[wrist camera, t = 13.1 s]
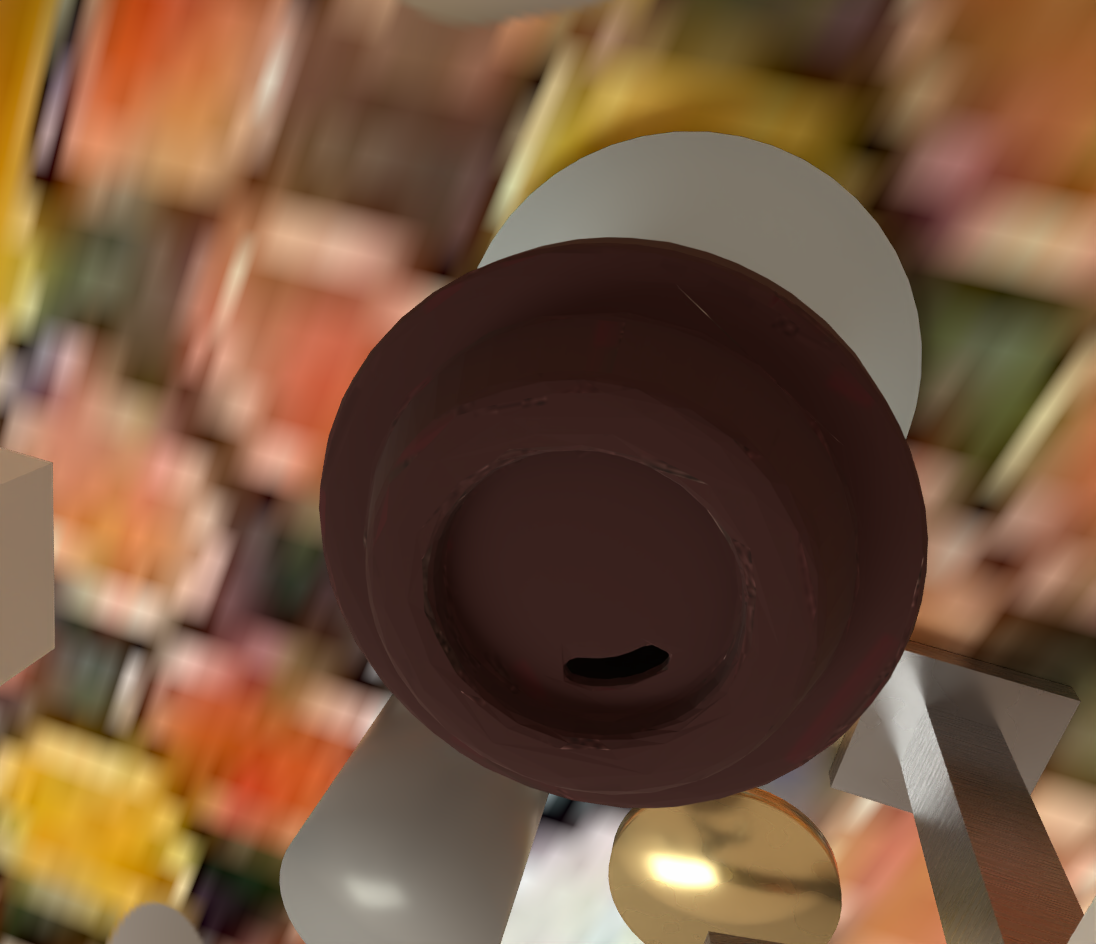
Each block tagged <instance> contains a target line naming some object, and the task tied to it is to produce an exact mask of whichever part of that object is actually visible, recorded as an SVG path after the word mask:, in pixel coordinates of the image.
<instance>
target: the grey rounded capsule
mask: <svg viewBox="0 0 1096 944" xmlns="http://www.w3.org/2000/svg"><path fill="white" fill-rule="evenodd" d="M548 794H549V793H547V792H544V791H540V790H537V789H533V788H530V787H527V786H525V785H523V784H521V783H518V782H516V781H514V780H512V779H509V778H507V777H505V776H502V775H500V774H498V773H496V772H493V771H491V770H489V769H486V768H484V767H483V766H481V765H479V764H478V763H476V762H474V761H473V760H471V759H469V758H468V757H466V756H464V755H463V754H461V753H459V752H458V751H457V750H455V749H454V748H453V747H451V746H450V745H449V744H447V743H446V742H445V741H443V740H442V739H441V738H439V737H438V736H437V735H435V734H434V733H433V732H432V731H430V730H429V729H428V728H427V727H426V726H425V725H424V724H422V723H421V722H420V721H419V720H418V719H417V718H416V717H415V716H413V715H412V714H411V713H410V712H409V711H408V710H407V709H406V707H405V706H404V705H403V704H402V703H401V702H400V701H399V700H398V699H397V698H396V697H395V695H394V694H392V696H391V697H390V699H389V700H388V702H387V703H386V705H385V706H384V708H383V709H382V711H381V712H380V713H379V715H378V716H377V718H376V719H375V721H374V722H373V724H372V725H371V727H370V728H369V730H368V731H367V733H366V734H365V735H364V737H363V738H362V740H361V741H360V743H359V744H358V746H357V747H356V749H355V750H354V752H353V753H352V755H351V756H350V757H349V759H348V760H347V762H346V763H345V765H344V766H343V768H342V769H341V771H340V772H339V774H338V775H337V776H336V778H335V779H334V781H333V782H332V784H331V785H330V787H329V788H328V790H327V791H326V793H325V794H324V796H323V797H322V798H321V800H320V801H319V803H318V804H317V806H316V807H315V809H314V810H313V812H312V813H311V815H310V816H309V818H308V819H307V820H306V822H305V823H304V825H303V826H302V828H301V829H300V831H299V832H298V834H297V835H296V837H295V838H294V839H293V841H292V843H291V844H290V846H289V847H288V849H287V850H286V853H285V855H284V858H283V860H282V865H281V870H280V889H281V896H282V899H283V903H284V907H285V909H286V911H287V914H288V916H289V918H290V920H291V922H292V924H293V926H294V927H295V929H296V931H297V932H298V933H299V935H300V936H301V938H302V939H303V941H304V942H305V943H306V944H501V941H502V937H503V934H504V931H505V928H506V925H507V922H508V919H509V916H510V913H511V909H512V906H513V903H514V900H515V897H516V894H517V891H518V888H519V885H520V881H521V878H522V875H523V872H524V869H525V866H526V863H527V860H528V857H529V853H530V850H531V847H532V844H533V841H534V838H535V835H536V832H537V829H538V825H539V822H540V819H541V816H542V813H543V810H544V807H545V804H546V801H547V798H548Z"/></svg>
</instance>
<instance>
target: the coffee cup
mask: <svg viewBox="0 0 1096 944" xmlns="http://www.w3.org/2000/svg"><path fill="white" fill-rule="evenodd" d="M319 511H320V521H321V531H322V541H323V551H324V557H325V561H326V566H327V570H328V574H329V579H330V583H331V586H332V589H333V591H334V594H335V597H336V600H337V603H338V606H339V608H340V610H341V612H342V615H343V617H344V619H345V621H346V623H347V625H348V627H349V629H350V631H351V634H352V636H353V638H354V640H355V642H356V644H357V645H358V647H359V648H360V649H361V651H362V652H363V654H364V655H365V657H366V658H367V660H368V661H369V663H370V664H371V666H372V667H373V668H374V670H375V671H376V673H377V674H378V676H379V677H380V679H381V680H382V681H383V683H384V684H385V686H386V687H387V688H388V689H389V690H390V691H391V692H392V693H393V694H394V695H395V697H396V698H397V699H398V700H399V701H400V702H401V703H402V704H403V705H404V706H405V707H406V709H407V710H408V711H409V712H410V713H411V714H412V715H413V716H415V717H416V718H417V719H418V720H419V721H420V722H421V723H422V724H424V725H425V726H426V727H427V728H428V729H429V730H430V731H432V732H433V733H434V734H435V735H437V736H438V737H439V738H441V739H442V740H443V741H445V742H446V743H447V744H449V745H450V746H451V747H453V748H454V749H455V750H457V751H458V752H459V753H461V754H463V755H464V756H466V757H468V758H469V759H471V760H473V761H474V762H476V763H478V764H479V765H481V766H483V767H484V768H486V769H489V770H491V771H493V772H496V773H498V774H500V775H502V776H505V777H507V778H509V779H512V780H514V781H516V782H518V783H521V784H523V785H525V786H527V787H530V788H533V789H537V790H540V791H544V792H547V793H550V794H554V795H557V796H560V797H564V798H567V799H571V800H575V801H582V802H588V803H595V804H602V805H608V806H615V807H621V808H666V807H678V806H684V805H690V804H695V803H701V802H706V801H711V800H717V799H721V798H725V797H728V796H731V795H734V794H737V793H740V792H743V791H747V790H750V789H753V788H756V787H759V786H762V785H765V784H768V783H770V782H771V781H773V780H775V779H777V778H779V777H781V776H783V775H785V774H787V773H789V772H790V771H792V770H794V769H796V768H798V767H800V766H802V765H803V764H805V763H806V762H807V761H809V760H810V759H812V758H813V757H815V756H816V755H817V754H819V753H820V752H822V751H823V750H825V749H826V748H827V747H829V746H830V745H832V744H833V743H834V742H835V741H837V740H838V739H839V738H840V737H841V736H842V735H843V734H844V733H846V732H847V731H848V730H849V729H850V728H851V727H852V725H853V724H854V723H855V722H856V721H857V720H858V719H859V718H860V716H861V715H862V714H863V713H864V712H865V711H866V710H867V709H868V707H869V706H870V705H871V704H872V703H873V701H874V700H875V699H876V697H877V696H878V695H879V693H880V692H881V690H882V689H883V688H884V686H885V685H886V684H887V682H888V681H889V679H890V678H891V676H892V674H893V672H894V670H895V668H896V666H897V664H898V662H899V660H900V659H901V657H902V655H903V652H904V650H905V648H906V646H907V643H908V641H909V639H910V637H911V634H912V632H913V630H914V626H915V623H916V619H917V616H918V612H919V609H920V605H921V602H922V596H923V590H924V584H925V577H926V570H927V547H928V535H927V523H926V510H925V505H924V500H923V496H922V491H921V487H920V482H919V478H918V474H917V471H916V468H915V465H914V461H913V458H912V455H911V452H910V449H909V446H908V444H907V442H906V439H905V437H904V434H903V432H902V430H901V427H900V425H899V423H898V421H897V419H896V418H895V416H894V414H893V412H892V410H891V408H890V406H889V405H888V403H887V401H886V399H885V398H884V396H883V394H882V393H881V391H880V390H879V388H878V387H877V385H876V384H875V382H874V381H873V379H872V377H871V376H870V374H869V373H868V371H867V370H866V368H865V367H864V365H863V364H862V362H861V361H860V359H859V358H858V356H857V355H856V353H855V352H854V351H853V350H852V349H851V348H850V347H849V346H848V345H847V343H846V342H845V341H844V340H843V339H842V338H841V337H840V336H839V335H838V334H837V333H836V331H835V330H834V329H833V328H832V327H831V326H830V325H829V324H828V323H827V322H826V321H825V320H824V319H823V318H822V317H820V316H819V315H818V314H817V313H815V312H814V311H813V310H812V309H811V308H809V307H808V306H807V305H806V304H804V303H803V302H802V301H801V300H799V299H798V298H797V297H796V296H795V295H793V294H792V293H791V292H789V291H787V290H786V289H784V288H782V287H781V286H779V285H778V284H776V283H774V282H773V281H771V280H770V279H768V278H766V277H764V276H762V275H760V274H758V273H756V272H754V271H752V270H750V269H748V268H746V267H744V266H742V265H740V264H738V263H736V262H733V261H730V260H728V259H725V258H722V257H720V256H717V255H715V254H712V253H709V252H706V251H702V250H698V249H694V248H691V247H687V246H683V245H679V244H675V243H672V242H666V241H657V240H648V239H638V238H624V237H601V238H587V239H575V240H570V241H565V242H559V243H554V244H549V245H544V246H540V247H537V248H534V249H530V250H527V251H524V252H521V253H518V254H514V255H511V256H508V257H506V258H503V259H500V260H497V261H495V262H492V263H490V264H488V265H485V266H483V267H480V268H478V269H476V270H473V271H471V272H469V273H467V274H465V275H463V276H461V277H460V278H458V279H456V280H454V281H453V282H451V283H449V284H447V285H446V286H444V287H442V288H440V289H439V290H437V291H435V292H434V293H432V294H431V295H430V296H428V297H427V298H426V299H425V300H423V301H422V302H421V303H420V304H418V305H417V306H416V307H415V308H413V309H412V310H411V311H410V312H408V313H407V314H406V315H404V316H403V317H402V318H401V319H400V320H399V321H398V322H397V323H396V324H395V325H394V327H393V328H392V329H391V330H390V331H389V332H388V333H387V334H386V335H385V336H384V337H383V338H382V340H381V341H380V342H379V343H378V344H377V345H376V346H375V347H374V348H373V350H372V351H371V352H370V353H369V355H368V357H367V358H366V360H365V361H364V363H363V364H362V366H361V367H360V369H359V371H358V372H357V374H356V375H355V377H354V378H353V380H352V382H351V384H350V386H349V388H348V389H347V391H346V393H345V395H344V397H343V399H342V401H341V404H340V407H339V409H338V412H337V415H336V418H335V420H334V423H333V426H332V428H331V431H330V434H329V438H328V443H327V448H326V454H325V460H324V466H323V472H322V479H321V485H320V503H319Z"/></svg>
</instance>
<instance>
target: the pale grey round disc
mask: <svg viewBox="0 0 1096 944" xmlns="http://www.w3.org/2000/svg"><path fill="white" fill-rule="evenodd" d="M601 237H624V238H638V239H648V240H657V241H666V242H672V243H675V244H679V245H683V246H687V247H691V248H694V249H698V250H702V251H706V252H709V253H712V254H715V255H717V256H720V257H722V258H725V259H728V260H730V261H733V262H736V263H738V264H740V265H742V266H744V267H746V268H748V269H750V270H752V271H754V272H756V273H758V274H760V275H762V276H764V277H766V278H768V279H770V280H771V281H773V282H774V283H776V284H778V285H779V286H781V287H782V288H784V289H786V290H787V291H789V292H791V293H792V294H793V295H795V296H796V297H797V298H798V299H799V300H801V301H802V302H803V303H804V304H806V305H807V306H808V307H809V308H811V309H812V310H813V311H814V312H815V313H817V314H818V315H819V316H820V317H822V318H823V319H824V320H825V321H826V322H827V323H828V324H829V325H830V326H831V327H832V328H833V329H834V330H835V331H836V333H837V334H838V335H839V336H840V337H841V338H842V339H843V340H844V341H845V342H846V343H847V345H848V346H849V347H850V348H851V349H852V350H853V351H854V352H855V353H856V355H857V356H858V358H859V359H860V361H861V362H862V364H863V365H864V367H865V368H866V370H867V371H868V373H869V374H870V376H871V377H872V379H873V381H874V382H875V384H876V385H877V387H878V388H879V390H880V391H881V393H882V394H883V396H884V398H885V399H886V401H887V403H888V405H889V406H890V408H891V410H892V412H893V414H894V416H895V418H896V419H897V421H898V423H899V425H900V427H901V430H902V432H903V434H904V437H905V439H906V438H907V435H908V432H909V429H910V425H911V422H912V419H913V416H914V412H915V409H916V405H917V399H918V393H919V387H920V380H921V360H922V342H921V334H920V326H919V318H918V312H917V308H916V305H915V301H914V297H913V294H912V290H911V287H910V283H909V280H908V278H907V276H906V274H905V271H904V269H903V267H902V265H901V262H900V260H899V258H898V255H897V253H896V251H895V250H894V248H893V247H892V245H891V243H890V242H889V240H888V239H887V237H886V236H885V234H884V232H883V231H882V229H881V228H880V226H879V224H878V223H877V222H876V221H875V220H874V219H873V217H872V216H871V215H870V214H869V213H868V212H867V210H866V209H865V208H864V207H863V206H862V205H861V203H860V202H859V201H858V200H857V199H856V198H855V197H854V196H852V195H851V194H850V193H849V192H848V191H847V190H846V189H844V188H843V187H842V186H841V185H840V184H839V183H838V182H836V181H835V180H834V179H833V178H832V177H830V176H829V175H827V174H825V173H824V172H822V171H821V170H819V169H818V168H816V167H815V166H813V165H811V164H810V163H808V162H807V161H805V160H803V159H801V158H799V157H797V156H795V155H792V154H790V153H788V152H786V151H784V150H781V149H779V148H777V147H775V146H772V145H769V144H765V143H762V142H759V141H755V140H752V139H748V138H745V137H741V136H734V135H727V134H720V133H713V132H669V133H662V134H655V135H648V136H642V137H638V138H634V139H631V140H627V141H624V142H620V143H617V144H613V145H610V146H608V147H606V148H603V149H601V150H599V151H596V152H594V153H592V154H590V155H587V156H585V157H583V158H581V159H579V160H578V161H576V162H574V163H573V164H571V165H569V166H568V167H566V168H564V169H563V170H561V171H559V172H558V173H556V174H555V175H553V176H552V177H551V178H550V179H548V180H547V181H546V182H545V183H544V184H542V185H541V186H540V187H539V188H537V189H536V190H535V191H534V192H532V193H531V194H530V195H529V196H528V197H527V198H526V199H525V200H524V202H523V203H522V204H521V205H520V206H519V207H518V208H517V209H516V210H515V211H514V212H513V213H512V214H511V215H510V216H509V218H508V219H507V221H506V222H505V223H504V225H503V226H502V228H501V229H500V230H499V232H498V233H497V235H496V236H495V237H494V239H493V240H492V242H491V244H490V246H489V247H488V249H487V251H486V253H485V255H484V257H483V259H482V261H481V262H480V264H479V266H478V268H480V267H483V266H485V265H488V264H490V263H492V262H495V261H497V260H500V259H503V258H506V257H508V256H511V255H514V254H518V253H521V252H524V251H527V250H530V249H534V248H537V247H540V246H544V245H549V244H554V243H559V242H565V241H570V240H575V239H587V238H601Z"/></svg>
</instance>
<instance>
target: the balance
mask: <svg viewBox="0 0 1096 944" xmlns="http://www.w3.org/2000/svg"><path fill="white" fill-rule="evenodd" d="M1080 702H1081V701H1080V700H1079V698H1078V696H1077V695H1076V693H1075V692H1074V690H1073V688H1072V687H1069V686H1066V685H1062V684H1059V683H1055V682H1052V681H1048V680H1045V679H1041V678H1038V677H1034V676H1031V675H1028V674H1024V673H1021V672H1017V671H1014V670H1010V669H1007V668H1003V667H1000V666H996V665H993V664H989V663H986V662H982V661H979V660H976V659H972V658H969V657H965V656H962V655H958V654H955V653H951V652H948V651H944V650H941V649H937V648H934V647H930V646H927V645H924V644H920V643H917V642H913V641H910V640H909V641H908V643H907V646H906V648H905V650H904V652H903V655H902V657H901V659H900V660H899V662H898V664H897V666H896V668H895V670H894V672H893V674H892V676H891V678H890V679H889V681H888V682H887V684H886V685H885V686H884V688H883V689H882V690H881V692H880V693H879V695H878V696H877V697H876V699H875V700H874V701H873V703H872V704H871V705H870V706H869V707H868V709H867V710H866V711H865V712H864V713H863V714H862V715H861V716H860V718H859V719H858V720H857V721H856V722H855V723H854V724H853V725H852V727H851V728H850V729H849V730H848V731H847V732H846V733H845V735H844V738H843V740H842V742H841V745H840V747H839V750H838V752H837V754H836V757H835V759H834V762H833V764H832V766H831V769H830V771H829V777H830V784H831V788H835V789H838V790H841V791H844V792H847V793H851V794H854V795H857V796H860V797H863V798H866V799H870V800H873V801H876V802H879V803H882V804H885V805H889V806H892V807H895V808H898V809H901V810H904V811H908V812H911V813H913V814H914V818H915V822H916V826H917V830H918V834H919V838H920V842H921V846H922V849H923V853H924V857H925V861H926V865H927V869H928V873H929V877H930V881H931V884H932V888H933V892H934V896H935V900H936V904H937V908H938V912H939V916H940V920H941V923H942V927H943V931H944V935H945V939H946V943H947V944H1067V943H1068V941H1069V939H1070V938H1071V936H1072V934H1073V933H1074V931H1075V930H1076V928H1077V926H1078V925H1079V923H1080V921H1081V920H1082V918H1083V916H1084V914H1083V912H1082V909H1081V907H1080V905H1079V903H1078V900H1077V898H1076V896H1075V894H1074V892H1073V889H1072V887H1071V885H1070V883H1069V881H1068V878H1067V876H1066V874H1065V872H1064V869H1063V867H1062V865H1061V863H1060V861H1059V858H1058V856H1057V854H1056V852H1055V850H1054V847H1053V845H1052V843H1051V841H1050V839H1049V836H1048V834H1047V832H1046V830H1045V827H1044V825H1043V823H1042V821H1041V819H1040V816H1039V814H1038V812H1037V810H1036V808H1035V805H1034V803H1033V801H1032V799H1031V796H1030V795H1031V793H1032V791H1033V789H1034V787H1035V786H1036V784H1037V782H1038V780H1039V778H1040V776H1041V774H1042V773H1043V771H1044V769H1045V767H1046V765H1047V763H1048V761H1049V759H1050V758H1051V756H1052V754H1053V752H1054V750H1055V748H1056V746H1057V745H1058V743H1059V741H1060V739H1061V737H1062V735H1063V733H1064V731H1065V730H1066V728H1067V726H1068V724H1069V722H1070V720H1071V718H1072V717H1073V715H1074V713H1075V711H1076V709H1077V707H1078V705H1079V703H1080ZM608 877H609V885H610V891H611V894H612V898H613V901H614V903H615V905H616V907H617V910H618V912H619V913H620V915H621V917H622V918H623V920H624V922H625V923H626V924H627V925H628V927H629V928H630V929H631V930H632V932H633V933H634V934H635V935H636V936H637V937H638V938H639V939H640V940H641V941H642V942H644V943H645V944H827V943H828V942H829V940H830V939H831V937H832V935H833V933H834V932H835V930H836V927H837V924H838V922H839V919H840V913H841V907H842V902H841V888H840V880H839V873H838V868H837V863H836V860H835V857H834V854H833V851H832V849H831V848H830V846H829V844H828V842H827V840H826V838H825V837H824V836H823V834H822V833H821V832H820V830H819V829H818V828H817V827H816V826H815V824H814V823H813V822H812V821H811V820H810V819H809V818H808V817H807V816H805V815H804V814H803V813H802V812H801V811H799V810H798V809H797V808H796V807H794V806H792V805H791V804H789V803H788V802H786V801H785V800H783V799H781V798H779V797H777V796H775V795H773V794H771V793H769V792H767V791H764V790H761V789H759V788H753V789H750V790H747V791H743V792H740V793H737V794H734V795H731V796H728V797H725V798H721V799H717V800H711V801H706V802H701V803H695V804H690V805H684V806H678V807H666V808H632V809H631V810H630V811H629V813H628V814H627V815H626V816H625V817H624V819H623V821H622V822H621V824H620V826H619V828H618V830H617V833H616V835H615V838H614V843H613V848H612V853H611V858H610V863H609V876H608Z"/></svg>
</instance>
